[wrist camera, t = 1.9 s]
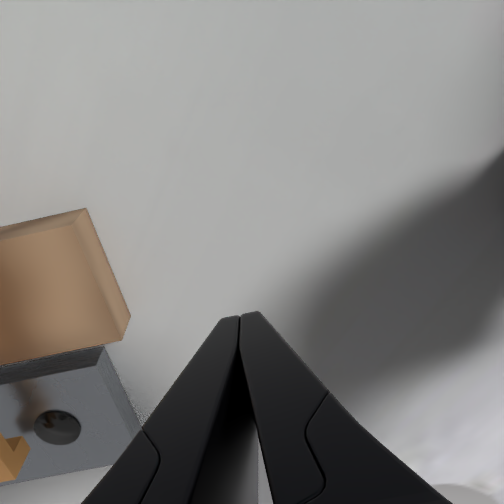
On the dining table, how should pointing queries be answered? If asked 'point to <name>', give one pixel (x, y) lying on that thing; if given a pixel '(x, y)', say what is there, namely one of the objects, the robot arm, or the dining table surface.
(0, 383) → the bolt hole plate
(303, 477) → the robot arm
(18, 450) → the block
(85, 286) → the rail
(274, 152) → the dining table surface
